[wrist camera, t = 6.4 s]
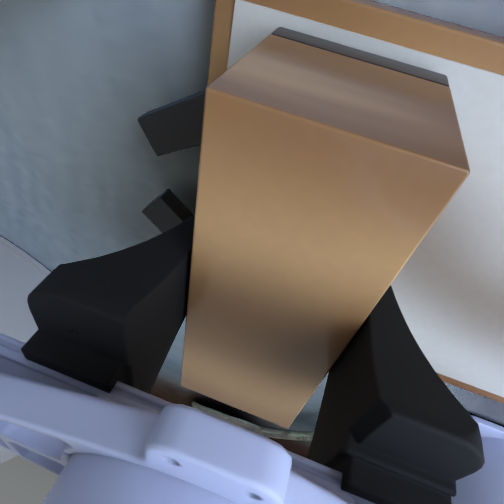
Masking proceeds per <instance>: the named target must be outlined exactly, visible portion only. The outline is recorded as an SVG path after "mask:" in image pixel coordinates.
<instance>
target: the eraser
mask: <svg viewBox="0 0 504 504" xmlns="http://www.w3.org/2000/svg"><path fill="white" fill-rule="evenodd" d="M449 87H450V86H449V82H448V78H447V76H446V75H444V74H440V73H437V72H434V71H430V70H427V69H423V68H420V67H416V66H413V65H410V64H406V63H403V62H399V61H396V60H393V59H389V58H386V57H382V56H379V55H376V54H372V53H369V52H365V51H362V50H359V49H355V48H352V47H348V46H345V45H342V44H338V43H335V42H331V41H328V40H325V39H321V38H318V37H314V36H311V35H307V34H304V33H301V32H297V31H294V30H290V29H287V28H284V27H278V28H277V29H276V30H274V31H273V32H272V33H271V34H270V35H268V36H267V37H266V38H265V39H263V40H262V41H261V42H260V43H259V44H257V45H256V46H255V47H254V48H253V49H251V50H250V51H249V52H248V53H247V54H246V55H244V56H243V57H242V58H241V59H240V60H238V61H237V62H236V63H235V64H234V65H232V66H231V67H230V68H229V69H228V70H226V71H225V72H224V73H223V74H222V75H220V76H219V77H218V78H217V79H216V80H214V81H213V82H212V83H211V84H210V85H208V86H207V87H206V89H205V101H204V112H203V124H202V136H201V148H200V160H199V172H198V184H197V195H196V207H195V219H194V231H193V243H192V255H191V267H190V279H189V290H188V302H187V314H186V326H185V338H184V350H183V362H182V373H181V386H183V387H185V388H188V389H190V390H193V391H195V392H198V393H200V394H203V395H205V396H208V397H210V398H213V399H215V400H217V401H220V402H222V403H225V404H227V405H230V406H232V407H235V408H237V409H240V410H242V411H245V412H247V413H250V414H252V415H255V416H257V417H260V418H262V419H265V420H267V421H269V422H272V423H274V424H277V425H279V426H282V427H284V428H289V426H290V425H291V424H292V422H293V421H294V419H295V418H296V417H297V415H298V414H299V412H300V411H301V410H302V408H303V407H304V405H305V404H306V403H307V401H308V400H309V398H310V397H311V396H312V394H313V393H314V391H315V390H316V389H317V387H318V386H319V384H320V383H321V382H322V380H323V379H324V377H325V376H326V375H327V373H328V372H329V370H330V369H331V368H332V366H333V365H334V363H335V362H336V360H337V359H338V358H339V356H340V355H341V353H342V352H343V351H344V349H345V348H346V346H347V345H348V344H349V342H350V341H351V339H352V338H353V337H354V335H355V334H356V332H357V331H358V330H359V328H360V327H361V325H362V324H363V323H364V321H365V320H366V318H367V317H368V316H369V314H370V313H371V311H372V310H373V309H374V307H375V306H376V304H377V303H378V302H379V300H380V299H381V297H382V296H383V295H384V293H385V292H386V290H387V289H388V288H389V286H390V285H391V283H392V282H393V280H394V279H395V278H396V276H397V275H398V273H399V272H400V271H401V269H402V268H403V266H404V265H405V264H406V262H407V261H408V259H409V258H410V257H411V255H412V254H413V252H414V251H415V250H416V248H417V247H418V245H419V244H420V243H421V241H422V240H423V238H424V237H425V236H426V234H427V233H428V231H429V230H430V229H431V227H432V226H433V224H434V223H435V222H436V220H437V219H438V217H439V216H440V215H441V213H442V212H443V210H444V209H445V208H446V206H447V205H448V203H449V202H450V201H451V199H452V198H453V196H454V195H455V193H456V192H457V191H458V189H459V188H460V186H461V185H462V184H463V182H464V181H465V179H466V178H467V177H468V175H469V174H470V167H469V163H468V159H467V155H466V151H465V146H464V142H463V138H462V134H461V130H460V126H459V122H458V118H457V114H456V110H455V106H454V102H453V98H452V94H451V89H450V88H449Z"/></svg>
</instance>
